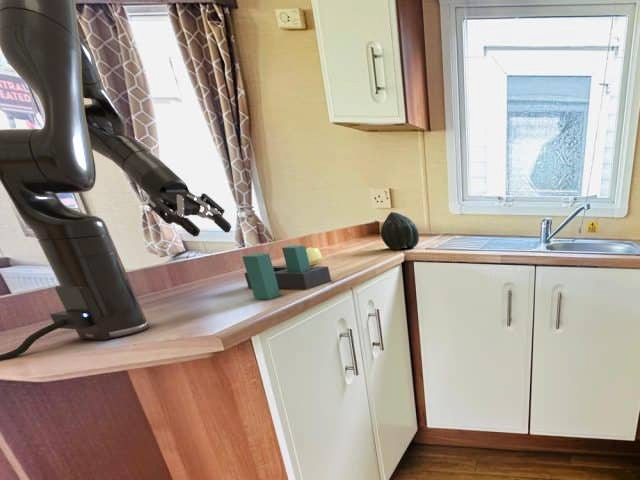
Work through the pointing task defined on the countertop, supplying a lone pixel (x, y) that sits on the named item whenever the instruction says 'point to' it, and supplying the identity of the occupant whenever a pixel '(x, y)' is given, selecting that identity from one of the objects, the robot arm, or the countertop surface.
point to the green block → (261, 276)
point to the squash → (399, 232)
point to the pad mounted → (296, 258)
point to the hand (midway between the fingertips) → (214, 231)
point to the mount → (299, 277)
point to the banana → (312, 256)
